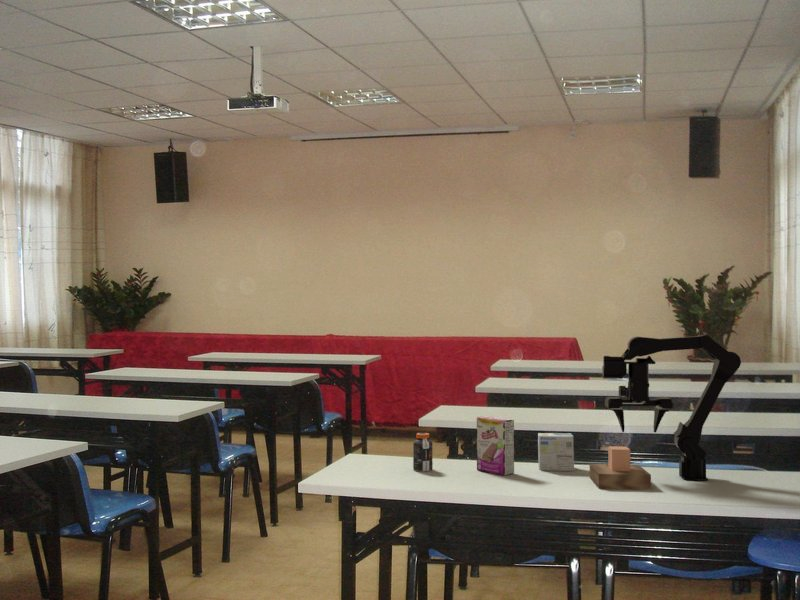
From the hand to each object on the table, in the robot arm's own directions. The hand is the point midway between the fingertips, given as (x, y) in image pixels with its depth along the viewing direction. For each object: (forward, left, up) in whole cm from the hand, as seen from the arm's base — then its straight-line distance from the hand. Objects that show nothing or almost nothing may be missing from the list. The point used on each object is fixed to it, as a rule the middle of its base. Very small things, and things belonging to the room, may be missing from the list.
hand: (638, 432), depth 228 cm
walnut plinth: (+8, +10, -13) cm, 18 cm away
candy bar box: (+42, -4, -13) cm, 44 cm away
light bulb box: (+23, -10, -13) cm, 28 cm away
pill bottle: (+64, -6, -13) cm, 66 cm away
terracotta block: (+8, +10, -9) cm, 16 cm away
